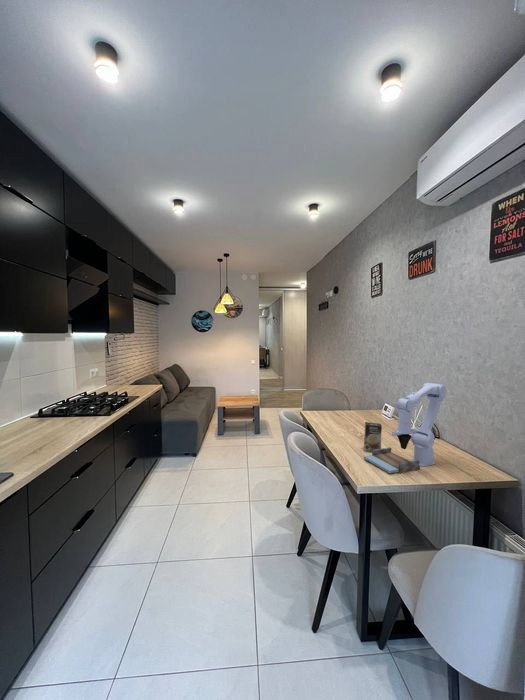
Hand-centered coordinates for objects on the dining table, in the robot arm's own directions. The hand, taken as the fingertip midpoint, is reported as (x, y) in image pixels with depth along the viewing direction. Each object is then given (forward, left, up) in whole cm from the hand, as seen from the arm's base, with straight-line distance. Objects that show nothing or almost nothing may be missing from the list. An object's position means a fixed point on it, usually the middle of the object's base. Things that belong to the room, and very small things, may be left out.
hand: (403, 448), depth 152 cm
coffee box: (-2, -25, -11) cm, 27 cm away
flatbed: (-1, -6, -10) cm, 12 cm away
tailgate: (+6, -6, -8) cm, 12 cm away
